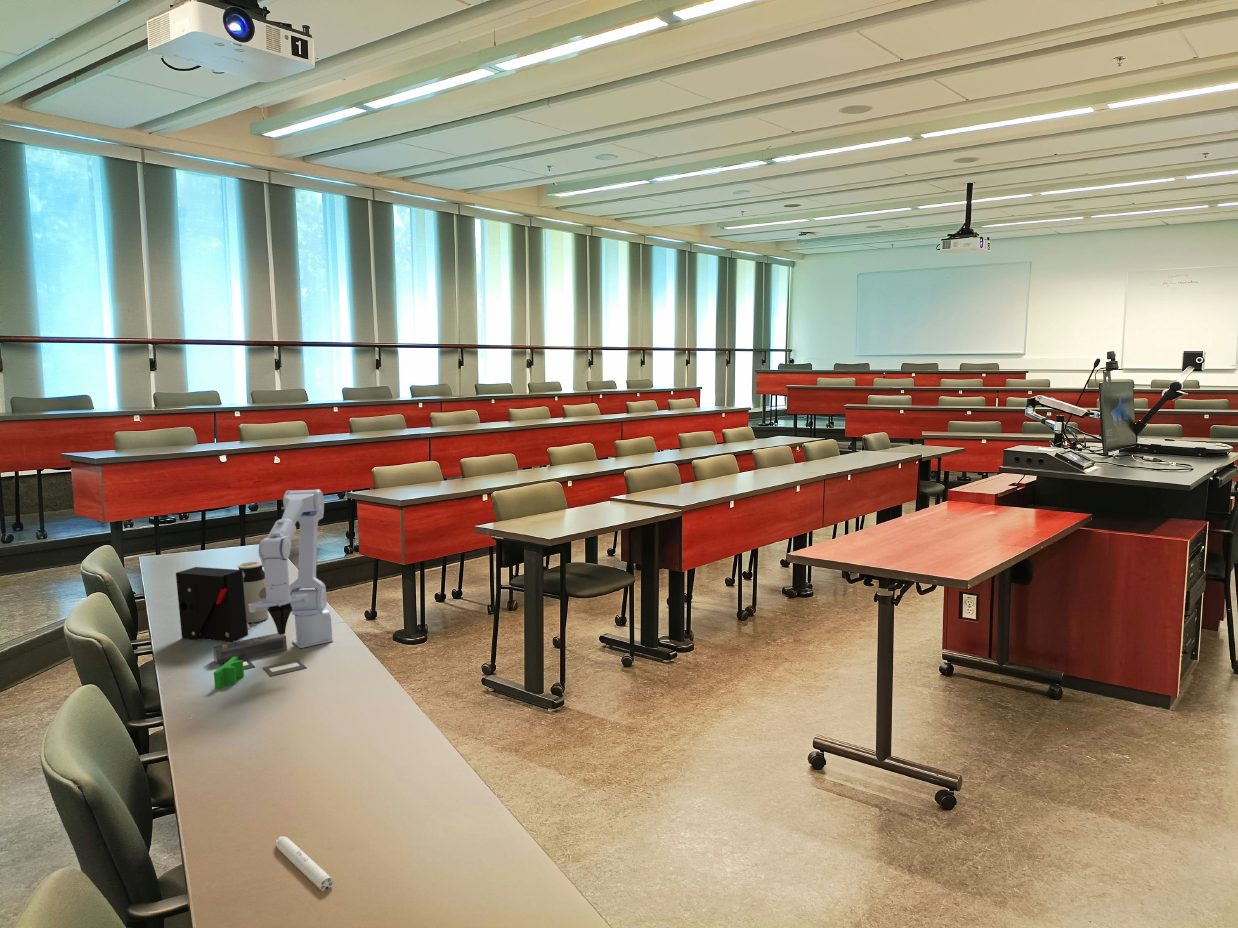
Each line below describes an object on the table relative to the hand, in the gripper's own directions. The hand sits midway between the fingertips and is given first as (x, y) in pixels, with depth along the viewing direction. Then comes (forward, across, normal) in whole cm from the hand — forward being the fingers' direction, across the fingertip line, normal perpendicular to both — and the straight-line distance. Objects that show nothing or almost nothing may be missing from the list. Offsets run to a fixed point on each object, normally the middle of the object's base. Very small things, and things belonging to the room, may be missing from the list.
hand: (281, 633), depth 219 cm
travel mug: (+10, +5, +52) cm, 53 cm away
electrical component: (+10, -8, +42) cm, 44 cm away
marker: (+10, -22, -94) cm, 97 cm away
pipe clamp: (+10, -13, -1) cm, 16 cm away
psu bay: (+9, -4, +17) cm, 20 cm away
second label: (+9, 0, 0) cm, 9 cm away
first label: (+9, -10, +10) cm, 16 cm away
